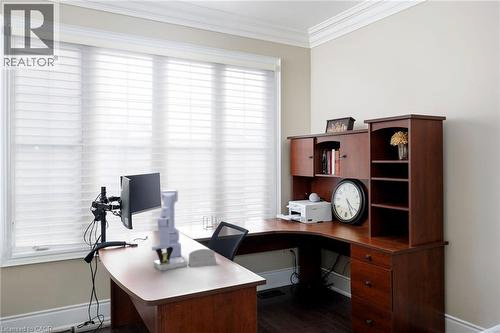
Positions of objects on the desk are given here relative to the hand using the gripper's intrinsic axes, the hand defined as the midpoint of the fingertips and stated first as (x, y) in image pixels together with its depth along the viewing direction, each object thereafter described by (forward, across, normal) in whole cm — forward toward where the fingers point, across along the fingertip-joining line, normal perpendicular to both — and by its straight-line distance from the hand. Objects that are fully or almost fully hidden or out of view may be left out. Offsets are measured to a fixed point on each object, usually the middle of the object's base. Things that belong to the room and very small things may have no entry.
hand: (164, 260), depth 215 cm
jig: (+4, +4, 0) cm, 5 cm away
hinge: (+4, +21, -7) cm, 23 cm away
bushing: (+2, 0, 0) cm, 2 cm away
